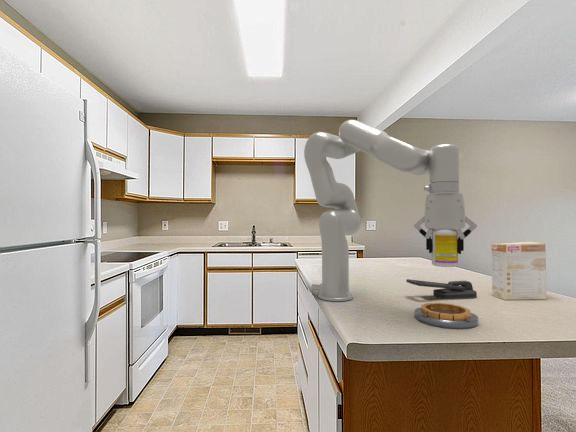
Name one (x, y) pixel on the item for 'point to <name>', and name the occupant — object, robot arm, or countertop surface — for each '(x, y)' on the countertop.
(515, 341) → the countertop surface
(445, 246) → the supplement bottle
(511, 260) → the coffeecake box
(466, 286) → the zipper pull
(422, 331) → the countertop surface
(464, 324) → the rosette plate
